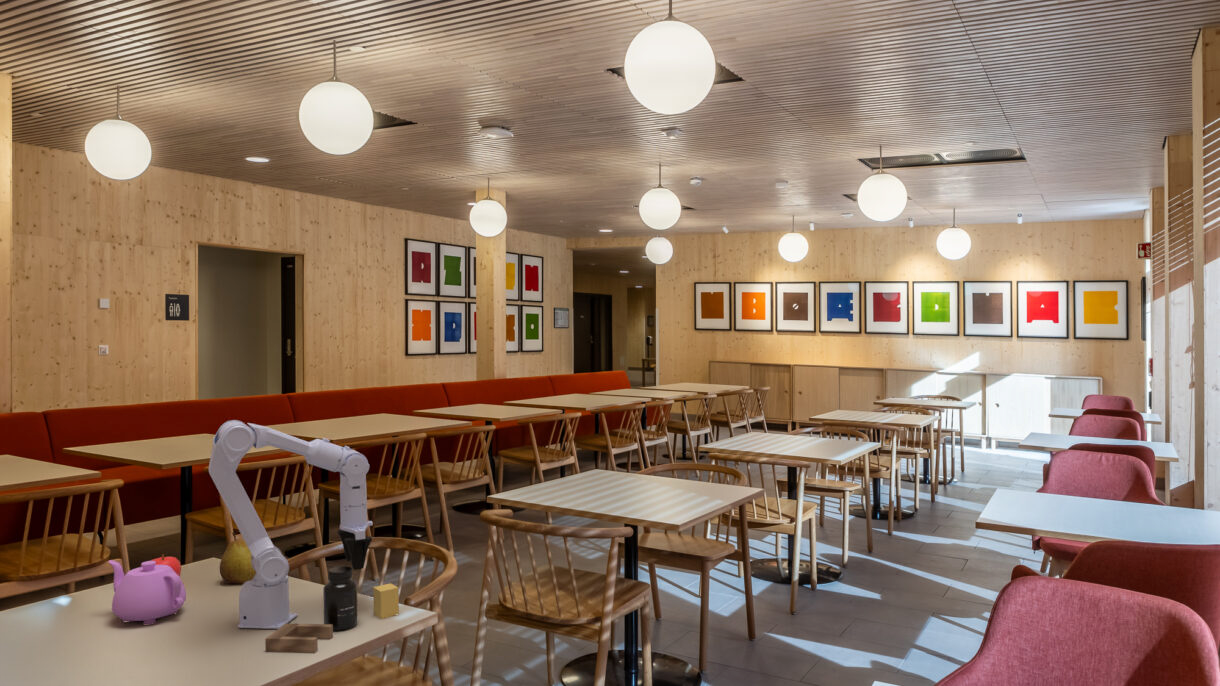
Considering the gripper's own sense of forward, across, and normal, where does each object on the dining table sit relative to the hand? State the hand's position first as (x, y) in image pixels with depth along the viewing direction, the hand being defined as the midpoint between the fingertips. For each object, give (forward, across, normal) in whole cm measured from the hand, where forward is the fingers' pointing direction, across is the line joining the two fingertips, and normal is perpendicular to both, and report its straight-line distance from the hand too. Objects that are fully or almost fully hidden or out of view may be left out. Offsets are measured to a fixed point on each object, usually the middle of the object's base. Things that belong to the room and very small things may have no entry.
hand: (354, 564), depth 182 cm
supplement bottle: (+10, -11, +5) cm, 15 cm away
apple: (+10, +40, +38) cm, 56 cm away
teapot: (+10, +18, +41) cm, 46 cm away
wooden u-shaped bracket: (+10, -17, +14) cm, 24 cm away
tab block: (+10, -9, -5) cm, 14 cm away
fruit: (+10, +34, +21) cm, 42 cm away
